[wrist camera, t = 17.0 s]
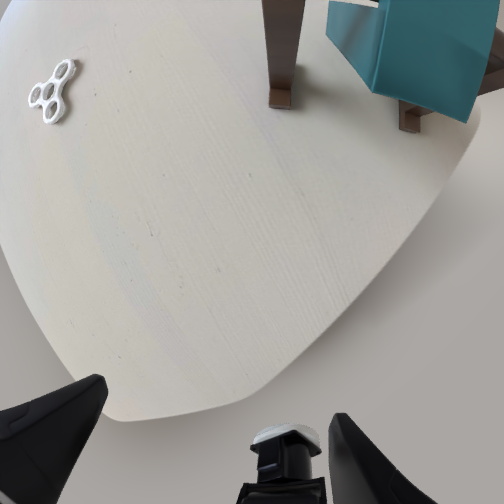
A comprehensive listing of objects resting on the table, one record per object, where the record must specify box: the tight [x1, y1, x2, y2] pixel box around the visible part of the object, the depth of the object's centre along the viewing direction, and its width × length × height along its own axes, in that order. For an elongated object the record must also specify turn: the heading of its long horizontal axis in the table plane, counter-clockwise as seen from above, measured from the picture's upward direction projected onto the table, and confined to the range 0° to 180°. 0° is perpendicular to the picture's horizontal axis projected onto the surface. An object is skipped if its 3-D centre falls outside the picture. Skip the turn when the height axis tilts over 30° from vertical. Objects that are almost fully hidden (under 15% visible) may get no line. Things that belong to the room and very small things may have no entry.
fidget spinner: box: [28, 59, 75, 124], centre depth 18 cm, size 7×6×1 cm
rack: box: [262, 0, 504, 133], centre depth 10 cm, size 4×12×14 cm, turn 85°
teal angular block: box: [326, 0, 500, 123], centre depth 8 cm, size 7×4×13 cm
